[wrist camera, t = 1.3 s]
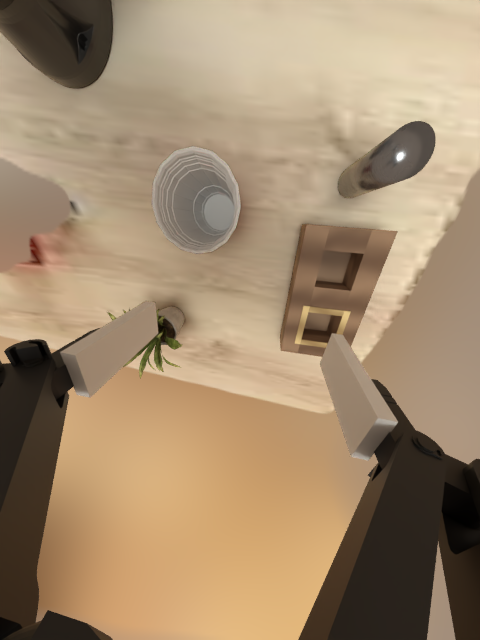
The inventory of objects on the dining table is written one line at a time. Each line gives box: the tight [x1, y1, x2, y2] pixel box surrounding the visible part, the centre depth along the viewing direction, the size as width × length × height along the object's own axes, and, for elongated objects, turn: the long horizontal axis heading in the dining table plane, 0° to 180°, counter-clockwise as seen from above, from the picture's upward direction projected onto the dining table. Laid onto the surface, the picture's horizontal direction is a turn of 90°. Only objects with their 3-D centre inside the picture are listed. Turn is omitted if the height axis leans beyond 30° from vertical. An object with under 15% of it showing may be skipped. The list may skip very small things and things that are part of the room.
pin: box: [338, 121, 435, 198], centre depth 22 cm, size 4×4×13 cm
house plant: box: [107, 306, 185, 378], centre depth 36 cm, size 14×14×16 cm
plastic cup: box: [152, 146, 241, 254], centre depth 27 cm, size 11×11×12 cm
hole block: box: [280, 224, 398, 357], centre depth 33 cm, size 22×12×5 cm, turn 176°
